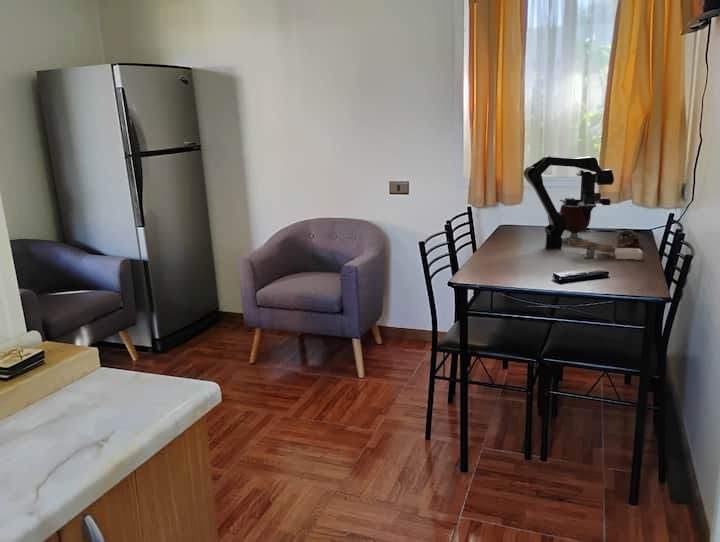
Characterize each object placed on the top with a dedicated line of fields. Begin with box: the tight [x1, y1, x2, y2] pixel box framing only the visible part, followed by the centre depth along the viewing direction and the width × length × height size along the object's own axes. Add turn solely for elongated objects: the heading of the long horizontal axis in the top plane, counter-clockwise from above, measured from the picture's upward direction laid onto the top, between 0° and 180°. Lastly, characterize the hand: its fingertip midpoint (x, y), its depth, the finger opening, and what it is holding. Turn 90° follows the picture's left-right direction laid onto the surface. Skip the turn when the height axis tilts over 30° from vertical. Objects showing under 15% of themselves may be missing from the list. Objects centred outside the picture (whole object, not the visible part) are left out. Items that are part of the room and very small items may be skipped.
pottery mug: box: [616, 229, 641, 247], centre depth 274 cm, size 12×10×8 cm
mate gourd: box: [559, 199, 592, 243], centre depth 288 cm, size 16×14×20 cm
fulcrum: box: [582, 247, 600, 260], centre depth 253 cm, size 5×8×5 cm, turn 169°
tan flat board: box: [567, 236, 616, 254], centre depth 257 cm, size 18×14×3 cm
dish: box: [612, 247, 644, 261], centre depth 250 cm, size 10×7×3 cm
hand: (585, 220), depth 271 cm, fingers closed
